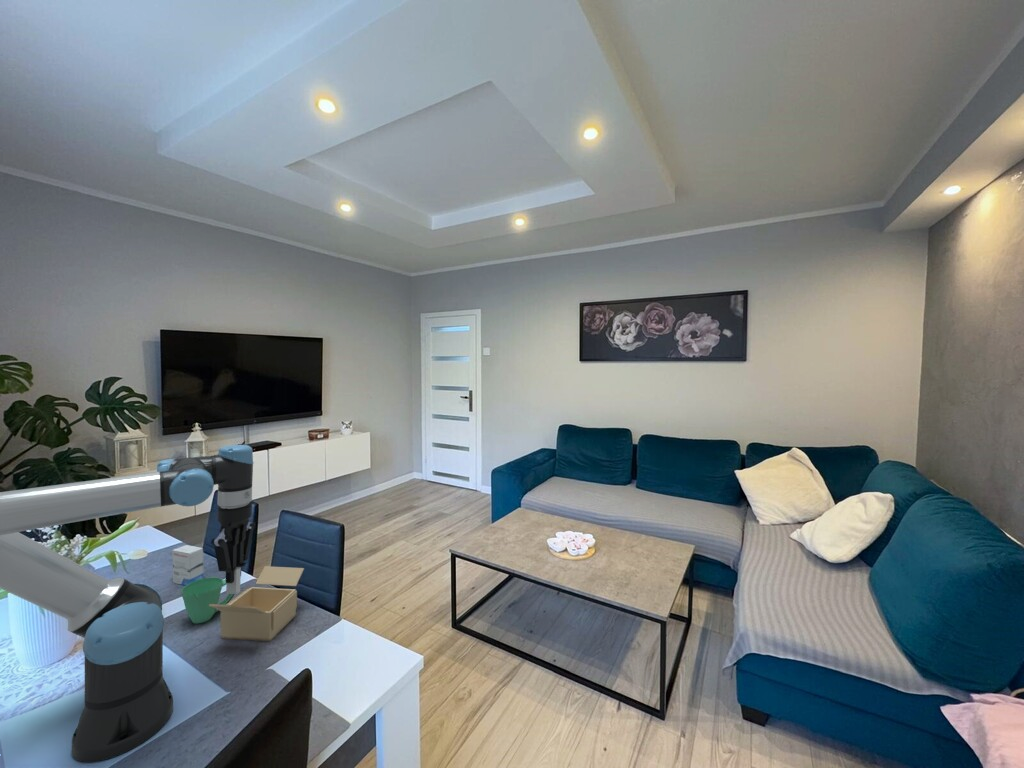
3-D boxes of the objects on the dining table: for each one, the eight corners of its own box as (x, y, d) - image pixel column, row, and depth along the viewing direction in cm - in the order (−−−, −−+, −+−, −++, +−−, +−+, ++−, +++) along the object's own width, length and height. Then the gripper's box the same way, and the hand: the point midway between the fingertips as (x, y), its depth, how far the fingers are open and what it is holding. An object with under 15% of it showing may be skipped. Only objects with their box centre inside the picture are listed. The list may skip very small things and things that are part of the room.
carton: (272, 641, 110) (272, 613, 110) (218, 638, 111) (218, 609, 111) (297, 615, 122) (298, 589, 122) (249, 612, 123) (249, 586, 123)
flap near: (221, 609, 110) (209, 604, 106) (266, 612, 110) (256, 606, 105) (220, 611, 110) (208, 605, 106) (265, 613, 109) (255, 608, 105)
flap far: (295, 585, 123) (303, 568, 127) (255, 583, 124) (265, 566, 128) (296, 586, 123) (304, 568, 128) (256, 584, 124) (265, 566, 128)
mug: (188, 633, 113) (188, 598, 113) (176, 620, 119) (176, 587, 118) (246, 608, 125) (246, 577, 125) (232, 598, 131) (232, 568, 130)
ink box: (204, 580, 141) (204, 547, 141) (189, 587, 136) (189, 553, 136) (186, 576, 144) (187, 543, 143) (171, 583, 139) (171, 549, 139)
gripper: (230, 513, 99) (228, 607, 100) (265, 497, 112) (263, 580, 113) (201, 511, 100) (199, 605, 100) (239, 496, 113) (237, 579, 113)
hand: (233, 592), depth 106 cm, fingers closed
